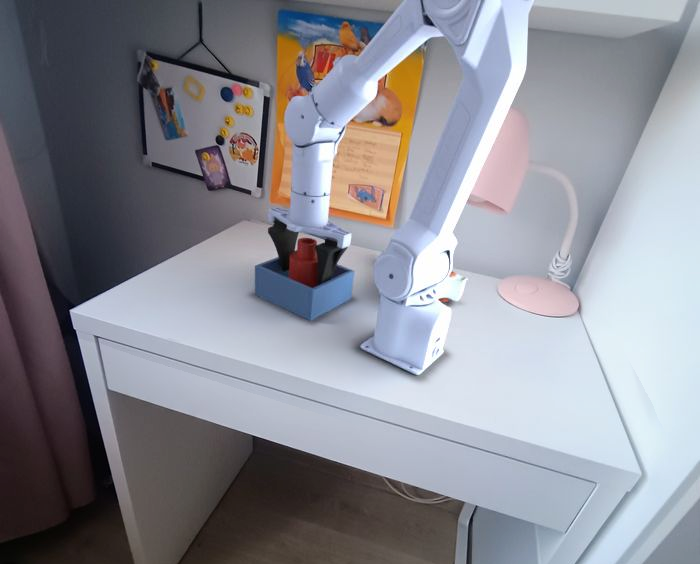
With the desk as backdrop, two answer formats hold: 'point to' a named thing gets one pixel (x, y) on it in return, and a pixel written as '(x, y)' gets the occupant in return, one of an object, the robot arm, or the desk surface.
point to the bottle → (304, 263)
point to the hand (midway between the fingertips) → (305, 277)
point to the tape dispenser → (451, 288)
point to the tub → (302, 290)
